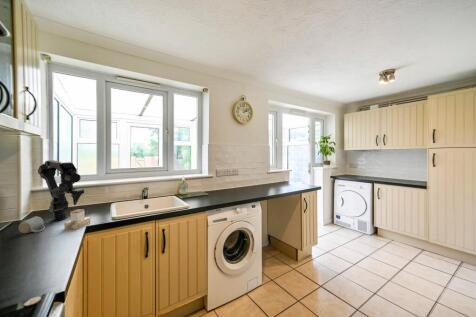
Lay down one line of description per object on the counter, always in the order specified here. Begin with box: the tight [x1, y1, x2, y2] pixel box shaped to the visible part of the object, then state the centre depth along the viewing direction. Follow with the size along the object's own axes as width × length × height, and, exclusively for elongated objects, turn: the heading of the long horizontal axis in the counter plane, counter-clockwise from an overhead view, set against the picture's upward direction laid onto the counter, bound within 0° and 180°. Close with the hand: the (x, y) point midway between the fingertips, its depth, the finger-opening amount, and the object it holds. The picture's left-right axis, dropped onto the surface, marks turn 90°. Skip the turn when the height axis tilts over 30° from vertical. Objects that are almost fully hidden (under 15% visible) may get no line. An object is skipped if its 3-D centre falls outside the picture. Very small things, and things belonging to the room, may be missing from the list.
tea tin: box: [69, 208, 86, 222], centre depth 122 cm, size 5×5×6 cm
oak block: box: [63, 216, 92, 230], centre depth 122 cm, size 9×9×4 cm
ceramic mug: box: [18, 216, 46, 234], centre depth 116 cm, size 11×8×8 cm
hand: (68, 204), depth 128 cm, fingers open, 9 cm apart
